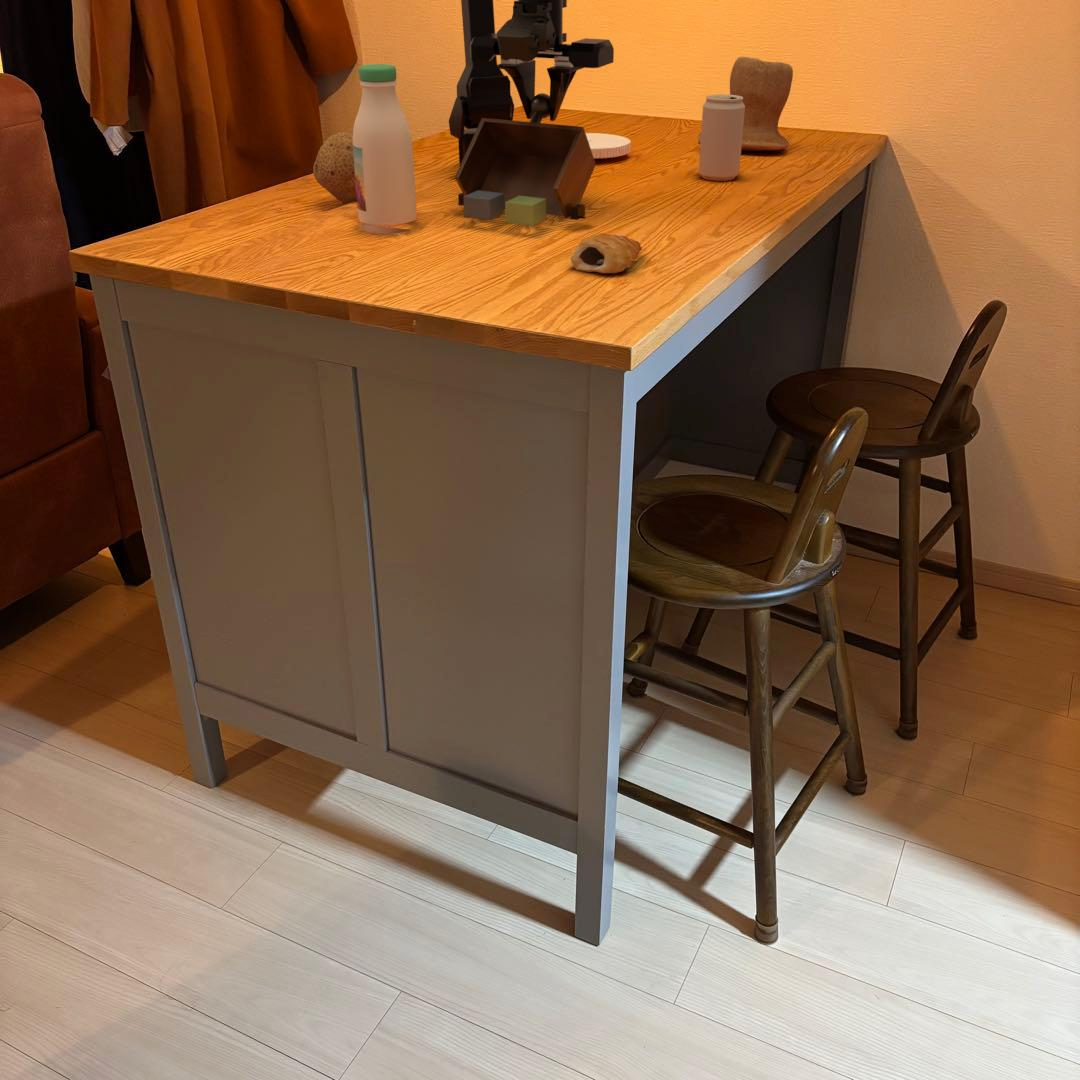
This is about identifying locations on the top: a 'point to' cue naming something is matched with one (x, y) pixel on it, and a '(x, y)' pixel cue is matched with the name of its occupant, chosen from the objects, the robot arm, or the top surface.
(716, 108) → the beverage can
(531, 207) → the sage block
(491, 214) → the slate block
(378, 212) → the milk bottle
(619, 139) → the plastic lid
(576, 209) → the pivot brackets
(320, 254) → the top surface
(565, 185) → the bin
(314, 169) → the natural sponge
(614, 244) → the pastry
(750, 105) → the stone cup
